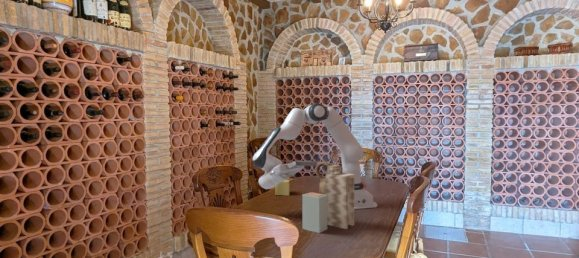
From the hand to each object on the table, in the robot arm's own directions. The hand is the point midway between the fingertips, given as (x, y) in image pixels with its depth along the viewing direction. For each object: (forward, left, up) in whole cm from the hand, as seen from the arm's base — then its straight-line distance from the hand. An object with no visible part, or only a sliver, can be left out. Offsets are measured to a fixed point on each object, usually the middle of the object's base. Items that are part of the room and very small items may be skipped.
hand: (298, 162), depth 185 cm
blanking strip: (-2, +2, -1) cm, 4 cm away
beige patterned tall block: (-20, +6, -32) cm, 38 cm away
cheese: (+4, -65, -32) cm, 73 cm away
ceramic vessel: (-27, -43, -32) cm, 60 cm away
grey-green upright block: (-6, +11, -32) cm, 34 cm away
